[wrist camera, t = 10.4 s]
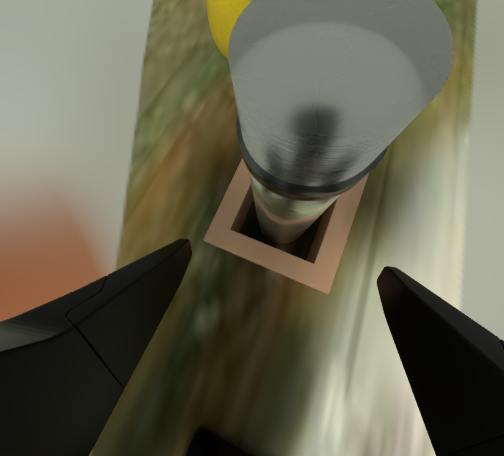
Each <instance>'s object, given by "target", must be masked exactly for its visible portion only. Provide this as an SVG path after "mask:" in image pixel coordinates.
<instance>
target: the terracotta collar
mask: <svg viewBox="0 0 504 456" xmlns="http://www.w3.org/2000/svg"><path fill="white" fill-rule="evenodd" d="M368 175H369V173H368V174H367V175H366V176H365V177H364V178H363V179H362V180H361V181H360V182H359V183H357V184H356V185H355V186H354V187H352V188H351V189H349V190H348V191H346V192H344V193H342V194H341V195H340V196H339V197H338V198H337V199H336V200H335V201H334V202H333V203H332V204H331V205H330V206H329V207H328V208H327V209H326V210H325V211H324V213H323V216H322V218H321V221H320V224H319V227H318V229H317V232H316V235H315V238H314V240H313V243H312V246H311V248H310V251H309V254H308V257H307V259H306V261H305V260H303V259H301V258H298V257H296V256H293V255H291V254H288V253H286V252H284V251H281V250H279V249H276V248H274V247H271V246H269V245H267V244H264V243H262V242H259V241H257V240H254V239H252V238H250V237H247V236H245V235H242V234H240V233H239V232H240V230H241V227H242V225H243V223H244V221H245V218H246V216H247V214H248V212H249V209H250V207H251V205H252V203H253V200H254V196H253V191H252V185H251V180H250V175H249V170H248V169H247V167H246V165H245V163H244V160H243V158H242V160H241V162H240V164H239V166H238V168H237V170H236V172H235V175H234V177H233V179H232V181H231V183H230V185H229V187H228V189H227V191H226V193H225V196H224V198H223V200H222V202H221V204H220V206H219V208H218V210H217V212H216V214H215V217H214V219H213V221H212V223H211V225H210V227H209V229H208V231H207V233H206V235H205V237H204V240H203V241H205V242H207V243H209V244H211V245H213V246H215V247H218V248H220V249H222V250H225V251H227V252H229V253H232V254H234V255H236V256H239V257H241V258H243V259H246V260H248V261H250V262H253V263H255V264H257V265H260V266H262V267H264V268H266V269H269V270H271V271H273V272H276V273H278V274H280V275H283V276H285V277H287V278H290V279H292V280H294V281H297V282H299V283H301V284H304V285H306V286H308V287H311V288H313V289H315V290H318V291H321V292H323V293H326V294H329V292H330V289H331V286H332V283H333V280H334V277H335V274H336V271H337V268H338V265H339V262H340V259H341V256H342V253H343V250H344V247H345V244H346V241H347V238H348V235H349V232H350V229H351V226H352V223H353V220H354V217H355V214H356V211H357V208H358V205H359V202H360V199H361V196H362V193H363V190H364V187H365V184H366V181H367V178H368Z"/></svg>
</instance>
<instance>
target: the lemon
mask: <svg viewBox="0 0 504 456" xmlns="http://www.w3.org/2000/svg"><path fill="white" fill-rule="evenodd" d="M251 1H252V0H207V12H208V19H209V24H210V29H211V33H212V36H213V39H214V41H215V43H216V45H217V47H218V49H219V50H220V52H221V53H222V54H223V55H224V56H225V57H226V58H227V59H228V46H229V39H230V36H231V32H232V29H233V27H234V25H235V23H236V21H237V19H238V17H239V16H240V14H241V13H242V11H243V10H244V9H245V8H246V7H247V5H248V4H249V3H250V2H251Z"/></svg>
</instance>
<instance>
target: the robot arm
mask: <svg viewBox="0 0 504 456" xmlns="http://www.w3.org/2000/svg"><path fill="white" fill-rule="evenodd" d="M191 256H192V250H191V243H190V240H189V239H183V238H181V239H179V240H177V241H175V242H173V243H171V244H169V245H167V246H165V247H163V248H161V249H159V250H157V251H155V252H153V253H151V254H149V255H147V256H145V257H143V258H141V259H139V260H137V261H135V262H133V263H131V264H129V265H127V266H125V267H123V268H121V269H119V270H117V271H115V272H113V273H111V274H109V275H108V276H104V277H102V278H100V279H99V280H96V281H94V282H92V283H90V284H88V285H86V286H84V287H82V288H80V289H78V290H75V291H73V292H71V293H69V294H66V295H64V296H62V297H59V298H57V299H55V300H53V301H50V302H48V303H46V304H43V305H41V306H39V307H37V308H34V309H32V310H30V311H27V312H25V313H23V314H20V315H18V316H16V317H13V318H10V319H7V320H5V321H1V322H0V456H89V454H90V452H91V450H92V448H93V447H94V445H95V443H96V441H97V439H98V437H99V435H100V433H101V432H102V430H103V428H104V426H105V424H106V422H107V420H108V419H109V417H110V415H111V413H112V411H113V409H114V407H115V406H116V404H117V402H118V400H119V398H120V396H121V394H122V392H123V391H124V388H125V387H126V385H127V383H128V381H129V379H130V377H131V375H132V374H133V372H134V370H135V368H136V366H137V364H138V362H139V361H140V359H141V357H142V355H143V353H144V351H145V349H146V347H147V346H148V344H149V342H150V340H151V338H152V336H153V334H154V333H155V331H156V329H157V327H158V325H159V323H160V321H161V320H162V318H163V316H164V314H165V312H166V310H167V308H168V307H169V305H170V303H171V301H172V299H173V297H174V295H175V293H176V292H177V290H178V288H179V286H180V284H181V282H182V279H183V277H184V274H185V272H186V269H187V267H188V264H189V262H190V259H191ZM377 287H378V291H379V295H380V299H381V303H382V307H383V311H384V314H385V318H386V321H387V323H388V326H389V329H390V332H391V334H392V337H393V340H394V343H395V345H396V348H397V351H398V353H399V356H400V359H401V362H402V364H403V367H404V370H405V372H406V375H407V378H408V381H409V383H410V386H411V389H412V391H413V394H414V397H415V400H416V402H417V405H418V408H419V411H420V413H421V416H422V419H423V421H424V424H425V427H426V430H427V432H428V435H429V438H430V440H431V443H432V446H433V449H434V451H435V454H436V456H504V341H503V340H500V339H499V338H498V337H497V336H495V335H494V334H493V333H491V332H490V331H488V330H487V329H485V328H484V327H482V326H481V325H479V324H478V323H477V322H475V321H474V320H472V319H471V318H469V317H468V316H466V315H465V314H463V313H462V312H460V311H459V310H458V309H456V308H455V307H453V306H452V305H450V304H449V303H447V302H446V301H444V300H443V299H442V298H440V297H439V296H437V295H436V294H434V293H433V292H431V291H430V290H428V289H427V288H425V287H424V286H423V285H421V284H420V283H418V282H417V281H415V280H414V279H412V278H411V277H409V276H408V275H407V274H405V273H404V272H402V271H401V270H399V269H398V268H396V267H389V266H387V267H384V269H383V270H382V272H381V274H380V275H379V277H378V279H377ZM199 435H200V436H202V437H203V439H199V437H198V436H199ZM186 456H252V455H251V454H249V453H247V452H245V451H244V450H242V449H240V448H239V447H237V446H235V445H234V444H232V443H230V442H229V441H227V440H225V439H222V438H221V437H219V436H217V435H216V434H214V433H212V432H211V431H209V430H207V429H205V428H203V427H200V428H198V429H197V430H196V432H195V434H194V436H193V439H192V441H191V444H190V446H189V449H188V451H187V454H186Z"/></svg>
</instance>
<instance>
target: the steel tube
mask: <svg viewBox="0 0 504 456" xmlns="http://www.w3.org/2000/svg"><path fill="white" fill-rule="evenodd" d="M453 57H454V42H453V37H452V32H451V29H450V27H449V24H448V21H447V20H446V18H445V16H444V15H443V13H442V11H441V10H440V9H439V7H438V6H437V5H436V4H435V2H434V1H433V0H252V1H251V2H250V3H249V4H248V5H247V7H246V8H245V9H244V10H243V11H242V13H241V14H240V16H239V17H238V19H237V21H236V23H235V25H234V27H233V29H232V32H231V36H230V39H229V46H228V61H229V67H230V72H231V78H232V83H233V88H234V94H235V99H236V105H237V110H238V115H237V124H236V125H237V136H238V141H239V145H240V150H241V154H242V158H243V160H244V163H245V165H246V167H247V169H248V170H249V175H250V180H251V185H252V191H253V196H254V202H255V207H256V212H257V218H258V223H259V227H260V230H261V231H262V233H263V234H264V235H265V236H266V237H267V238H268V239H269V240H271V241H273V242H276V243H289V242H292V241H294V240H296V239H298V238H299V237H300V236H301V235H302V234H303V233H304V232H305V231H306V230H307V229H308V228H309V227H310V226H311V225H312V224H313V223H314V222H315V221H316V219H317V218H318V217H319V216H320V215H321V214H322V213H323V212H324V211H325V210H326V209H327V208H328V207H329V206H330V205H331V204H332V203H333V202H334V201H335V200H336V199H337V198H338V197H339V196H340V195H341V194H342V193H344V192H346V191H348V190H349V189H351V188H352V187H354V186H355V185H356V184H357V183H359V182H360V181H361V180H362V179H363V178H364V177H365V176H366V175H367V174H368V173H369V172H370V171H371V170H372V169H373V168H374V167H375V166H376V165H377V164H378V163H379V161H380V160H381V159H382V157H383V156H384V154H385V152H386V150H387V148H388V145H389V144H390V143H391V142H392V141H393V140H394V139H395V138H396V137H397V136H398V135H399V134H400V133H401V132H402V131H403V130H404V129H405V128H406V127H407V126H408V125H409V123H410V122H411V121H412V120H413V119H414V118H415V117H416V116H417V115H418V114H419V113H420V112H421V111H422V110H423V109H424V108H425V107H426V106H427V105H428V104H429V103H430V102H431V101H432V100H433V98H434V97H435V96H436V95H437V94H438V92H439V91H440V90H441V88H442V87H443V85H444V83H445V82H446V80H447V78H448V75H449V73H450V70H451V67H452V62H453Z"/></svg>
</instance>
